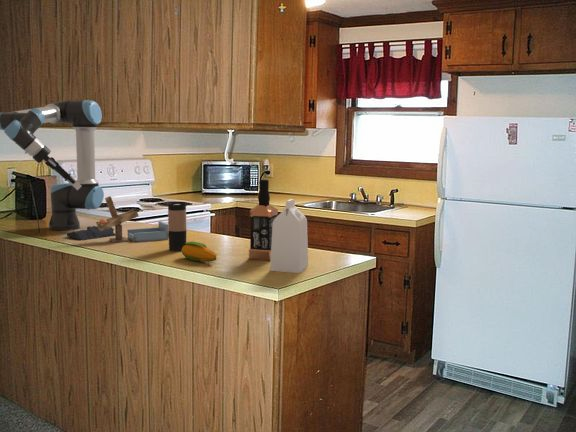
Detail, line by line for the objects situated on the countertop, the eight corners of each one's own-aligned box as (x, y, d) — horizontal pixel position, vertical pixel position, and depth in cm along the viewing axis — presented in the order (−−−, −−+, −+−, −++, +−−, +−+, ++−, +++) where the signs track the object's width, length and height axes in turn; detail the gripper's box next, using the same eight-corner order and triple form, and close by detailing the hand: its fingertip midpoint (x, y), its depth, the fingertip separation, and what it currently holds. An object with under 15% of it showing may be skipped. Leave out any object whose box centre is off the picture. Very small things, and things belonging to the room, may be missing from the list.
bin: (134, 242, 281) (133, 227, 280) (127, 237, 292) (127, 223, 291) (168, 239, 289) (168, 224, 288) (160, 235, 299) (160, 221, 298)
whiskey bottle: (271, 261, 245) (272, 180, 240) (248, 259, 248) (248, 180, 243) (278, 255, 255) (279, 178, 250) (256, 254, 258) (256, 178, 253)
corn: (190, 237, 253) (223, 244, 239) (192, 255, 254) (224, 263, 241) (176, 241, 247) (208, 248, 234) (177, 259, 249) (210, 267, 235)
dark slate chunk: (61, 238, 292) (61, 228, 292) (102, 232, 309) (101, 222, 309) (80, 242, 283) (79, 231, 282) (120, 235, 300) (120, 226, 299)
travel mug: (166, 248, 267) (166, 203, 264) (184, 247, 270) (183, 202, 267) (170, 252, 260) (170, 205, 257) (188, 250, 263) (188, 204, 260)
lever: (101, 231, 276) (92, 206, 273) (97, 228, 284) (88, 204, 280) (139, 216, 283) (130, 192, 280) (134, 214, 291) (125, 190, 288)
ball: (101, 225, 282) (99, 218, 281) (109, 224, 282) (106, 216, 281) (99, 227, 278) (97, 220, 278) (106, 226, 278) (104, 218, 277)
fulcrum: (113, 242, 279) (112, 226, 278) (109, 240, 285) (109, 224, 284) (128, 241, 283) (128, 225, 282) (124, 239, 289) (124, 223, 288)
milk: (279, 263, 241) (280, 197, 237) (308, 266, 237) (309, 199, 234) (269, 270, 229) (270, 201, 225) (299, 273, 226) (300, 202, 222)
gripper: (29, 156, 271) (71, 192, 281) (33, 157, 260) (76, 195, 270) (42, 144, 273) (82, 180, 283) (46, 145, 261) (88, 183, 272)
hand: (79, 187), depth 276 cm, fingers closed
